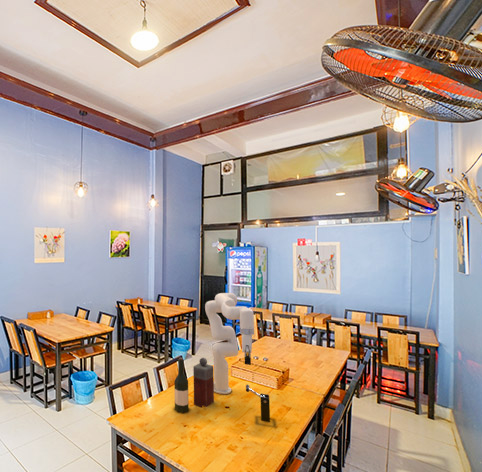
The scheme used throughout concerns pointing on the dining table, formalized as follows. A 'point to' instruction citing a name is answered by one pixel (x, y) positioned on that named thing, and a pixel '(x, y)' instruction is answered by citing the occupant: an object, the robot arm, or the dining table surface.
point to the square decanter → (203, 384)
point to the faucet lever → (253, 391)
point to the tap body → (265, 408)
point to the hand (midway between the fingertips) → (247, 361)
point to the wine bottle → (181, 389)
